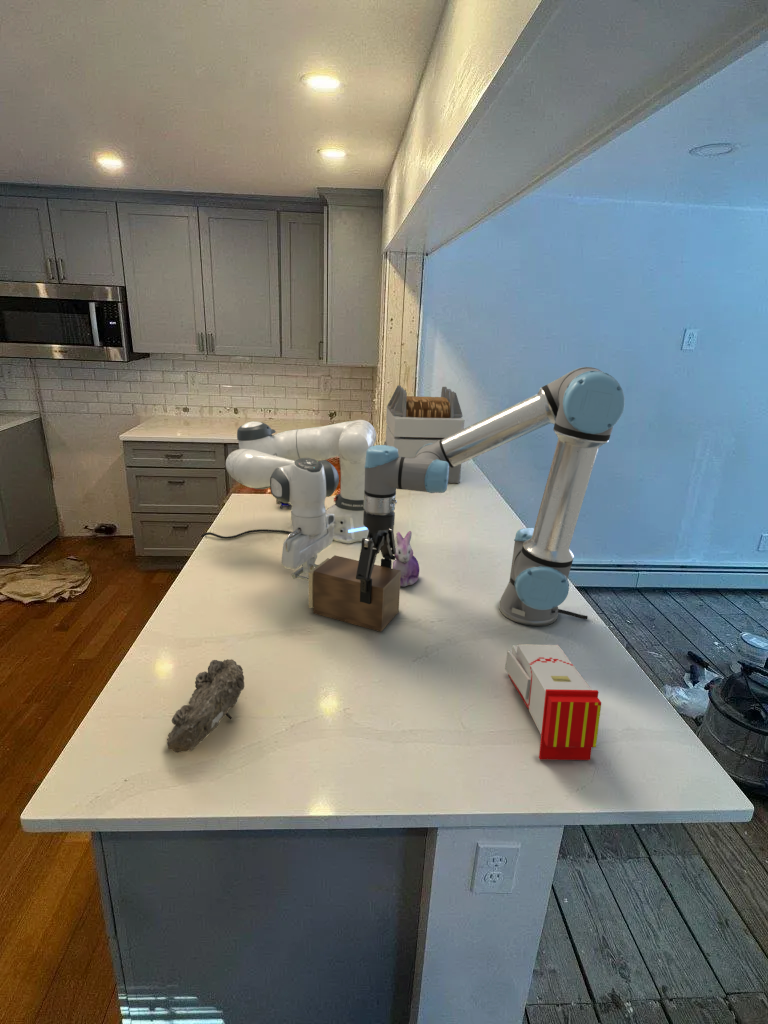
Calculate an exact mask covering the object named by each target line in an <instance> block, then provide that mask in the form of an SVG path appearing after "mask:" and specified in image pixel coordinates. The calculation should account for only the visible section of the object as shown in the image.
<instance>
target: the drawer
mask: <svg viewBox="0 0 768 1024" xmlns="http://www.w3.org/2000/svg"><path fill="white" fill-rule="evenodd" d="M329 559H330V558H326V559H324V561H323V560H322V562H320V563H319V564H316V563H315V564H314V569H313V570H311V571H310V572H309V573H308V577H307V576H304V575H303V576H302V574H304V573H303V567H302V566H300V567H299V568H297V569H296V571H294V572H293V573H291V575H290V578H291V579H292V580H295V579H299V580H304V581H308V608H310V609H313V571H314V570H316V569H317V568H318V567H320V566H321V565H322V564H324V563H325V562H326V561H328V560H329Z"/></svg>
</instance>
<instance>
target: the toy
mask: <svg viewBox="0 0 768 1024" xmlns="http://www.w3.org/2000/svg"><path fill="white" fill-rule="evenodd" d="M505 659H506V660H505V667H504V669H505V671H506V672H507V674H508V677H509V679H510V681H511V683H512V685H513V686H514V687H515V689H516V691H517V693H518V694H519V696H520V698H521V700H522V701H523V703H524V704H525V707H526V709H527V710H528V712H529V714H530V716H531V718H532V720H533V722H534V724H535V726H536V727H537V729H538V732H539V734H540V743H539V753H538V759H539V760H546V761H547V760H550V761H551V760H553V761H554V760H555V761H566V760H567V761H591V757H592V756H591V755H592V748H597V742H598V733H599V725H600V717H601V710H602V701H601V700H600V698H599V690H598V689H592V688H591V687H590V686H589V684H588V682H586V679H584V677H583V676H582V675H581V673H580V672H579V671H578V669H577V668H576V667H575V665H574V664H573V663H572V662H571V659H569V657H568V656H567V655H566V653H565V651H564V650H563V649H562V648H561V647H560V646H559V644H526V643H525V644H522V643H521V644H519V643H518V644H517V645H514V644H512V647H511V650H507V653H506V658H505Z"/></svg>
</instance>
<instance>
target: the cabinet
mask: <svg viewBox="0 0 768 1024" xmlns="http://www.w3.org/2000/svg"><path fill="white" fill-rule="evenodd" d="M358 563H359V560H357V559H353V558H349V557H345V556H341V555H335V554H334V555H333V556H332V557H330V558H329V560H328V561H326V562H325V563H324V564H322V565H321V566H320V567H318V568H317V569H316V570H314V571H313V608H312V609H313V614H314V615H318V616H322V617H325V618H330V619H333V620H335V621H336V620H337V621H340V622H343V623H347V624H350V625H354V626H358V627H362V628H365V629H369V630H373V631H377V632H380V633H382V632H383V630H385V628H386V627H387V626H388V625H389V623H391V621H392V620H393V619H394V618H395V617H396V616H397V614H398V613H399V611H400V596H401V593H400V592H401V586H400V579H401V570H396V569H393V567H391V568H388V567H383V566H381V565H379V564H375V563H374V567H373V570H372V574H371V579H372V594H371V604H367V603H363V602H360V581H361V580H358V579H356V574H357V568H358Z"/></svg>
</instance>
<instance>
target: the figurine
mask: <svg viewBox="0 0 768 1024" xmlns="http://www.w3.org/2000/svg"><path fill="white" fill-rule="evenodd" d="M412 535H413V532H412V531H411V530H409V531H408V532H407V533H406V534H405V536H404V537H403V536H402V533H401V532H400V531H397V532H396V545H395V548H396V554H395V555H393V556H396V558H395V560H393V561H392V569H396V570H401V579H400V587H403V588H404V587H407V586H412V585H414V584H416V583H417V582H418V580H419V575H420V565H419V561H418V559H417V558H416V556H414V549H413V547H412V545H411V540H412Z"/></svg>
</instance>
